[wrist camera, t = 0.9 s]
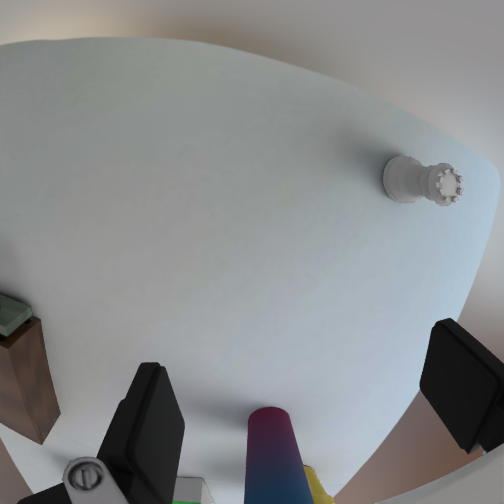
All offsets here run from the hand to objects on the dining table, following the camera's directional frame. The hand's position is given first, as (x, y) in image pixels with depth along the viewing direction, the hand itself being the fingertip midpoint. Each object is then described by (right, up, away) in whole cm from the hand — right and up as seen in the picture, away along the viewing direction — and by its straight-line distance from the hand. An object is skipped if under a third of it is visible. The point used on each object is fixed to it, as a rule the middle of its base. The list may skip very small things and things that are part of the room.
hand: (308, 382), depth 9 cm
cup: (0, -16, +23) cm, 28 cm away
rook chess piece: (+12, +11, +16) cm, 23 cm away
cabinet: (-34, -10, +20) cm, 41 cm away
